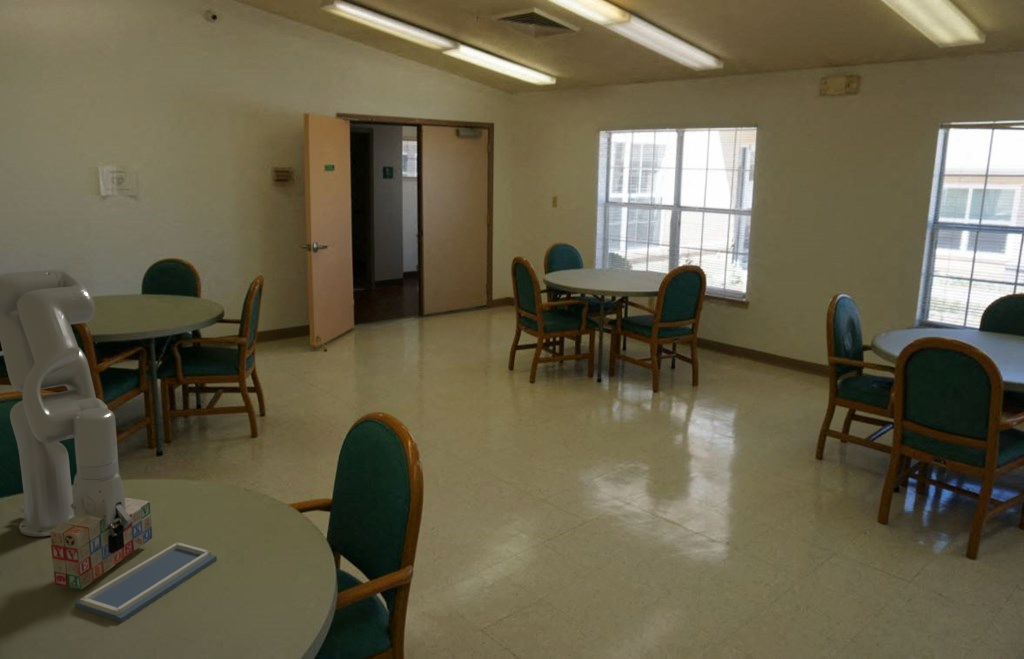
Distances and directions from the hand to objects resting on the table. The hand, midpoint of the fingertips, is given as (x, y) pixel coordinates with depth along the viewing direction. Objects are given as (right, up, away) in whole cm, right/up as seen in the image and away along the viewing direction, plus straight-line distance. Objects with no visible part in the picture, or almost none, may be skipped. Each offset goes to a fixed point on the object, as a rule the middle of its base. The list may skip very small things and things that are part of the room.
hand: (103, 545), depth 157 cm
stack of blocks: (0, -4, +1) cm, 4 cm away
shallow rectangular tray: (+12, -7, -3) cm, 14 cm away
